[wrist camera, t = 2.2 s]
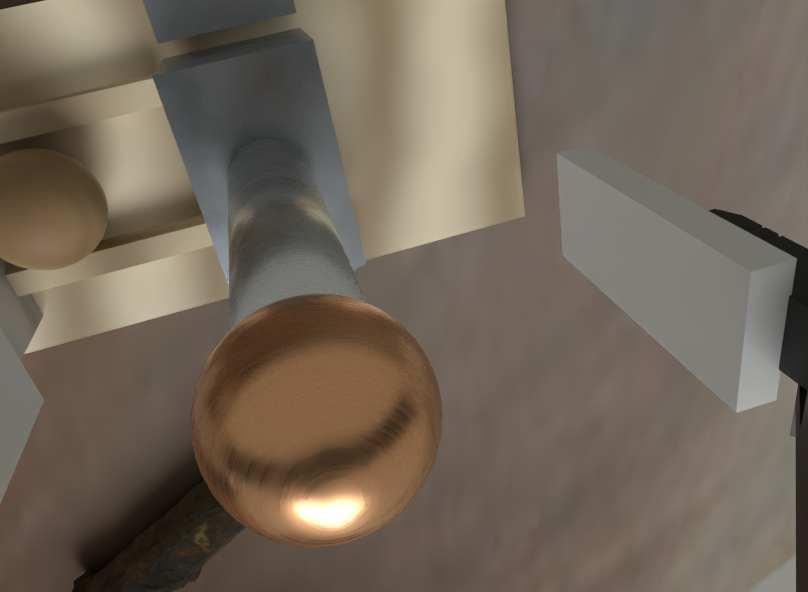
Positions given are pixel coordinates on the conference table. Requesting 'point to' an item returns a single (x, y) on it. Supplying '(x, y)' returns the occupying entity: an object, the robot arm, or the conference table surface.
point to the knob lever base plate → (165, 171)
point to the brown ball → (48, 209)
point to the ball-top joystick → (289, 294)
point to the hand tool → (168, 548)
